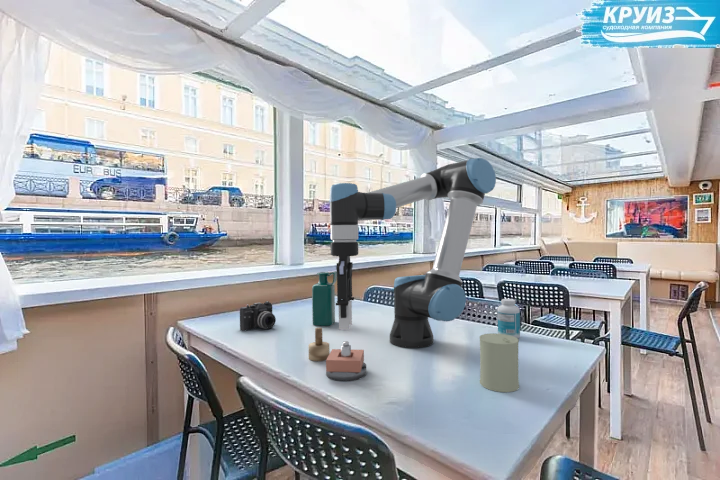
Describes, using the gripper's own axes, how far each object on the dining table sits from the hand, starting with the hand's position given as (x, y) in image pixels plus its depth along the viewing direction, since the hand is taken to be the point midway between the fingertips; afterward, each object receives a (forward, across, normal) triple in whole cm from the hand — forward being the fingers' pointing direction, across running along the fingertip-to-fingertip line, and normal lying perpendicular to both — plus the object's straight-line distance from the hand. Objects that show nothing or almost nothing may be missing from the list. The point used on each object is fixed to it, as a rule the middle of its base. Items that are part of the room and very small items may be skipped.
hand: (345, 326), depth 99 cm
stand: (+13, -12, -10) cm, 20 cm away
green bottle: (+13, -54, -16) cm, 58 cm away
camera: (+13, -46, -41) cm, 63 cm away
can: (+13, +5, +39) cm, 41 cm away
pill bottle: (+13, -37, +54) cm, 67 cm away
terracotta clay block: (+11, 0, 0) cm, 11 cm away
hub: (+13, 0, 0) cm, 13 cm away
